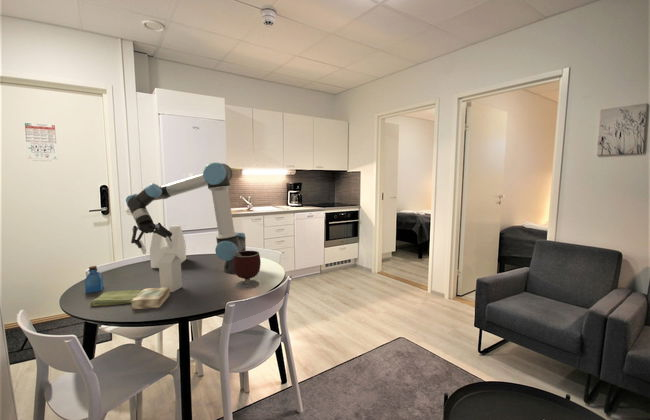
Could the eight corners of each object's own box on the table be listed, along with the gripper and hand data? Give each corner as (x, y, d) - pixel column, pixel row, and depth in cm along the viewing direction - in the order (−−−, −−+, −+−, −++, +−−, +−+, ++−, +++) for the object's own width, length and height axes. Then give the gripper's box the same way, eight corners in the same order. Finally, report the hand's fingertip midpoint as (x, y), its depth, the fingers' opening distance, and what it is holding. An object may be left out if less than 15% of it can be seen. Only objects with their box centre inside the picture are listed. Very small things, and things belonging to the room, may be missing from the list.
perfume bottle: (85, 293, 150) (83, 269, 149) (88, 289, 155) (86, 266, 154) (101, 291, 153) (99, 267, 151) (103, 287, 158) (101, 264, 157)
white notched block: (177, 267, 193) (174, 228, 190) (151, 268, 190) (148, 228, 188) (186, 259, 212) (184, 223, 209) (162, 260, 209) (160, 224, 207)
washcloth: (133, 304, 137) (132, 298, 137) (89, 308, 134) (88, 301, 134) (144, 293, 150) (143, 287, 150) (104, 296, 147) (103, 290, 146)
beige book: (169, 295, 147) (169, 287, 147) (159, 307, 134) (158, 298, 133) (145, 296, 145) (144, 288, 145) (132, 309, 132) (131, 300, 131)
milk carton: (172, 292, 151) (170, 255, 149) (160, 291, 152) (158, 254, 150) (182, 287, 158) (180, 251, 156) (170, 286, 159) (168, 250, 157)
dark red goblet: (252, 278, 171) (251, 243, 169) (266, 285, 161) (265, 248, 159) (226, 285, 160) (224, 248, 158) (239, 293, 150) (238, 253, 148)
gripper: (163, 220, 177) (179, 249, 170) (115, 226, 157) (130, 259, 150) (168, 212, 174) (183, 241, 167) (118, 216, 153) (134, 250, 147)
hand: (158, 249), depth 159 cm, fingers open, 13 cm apart
